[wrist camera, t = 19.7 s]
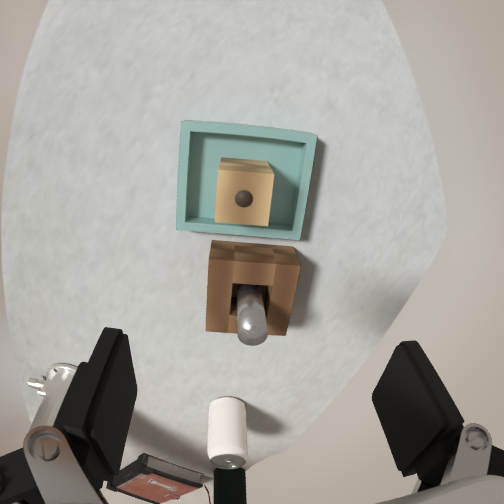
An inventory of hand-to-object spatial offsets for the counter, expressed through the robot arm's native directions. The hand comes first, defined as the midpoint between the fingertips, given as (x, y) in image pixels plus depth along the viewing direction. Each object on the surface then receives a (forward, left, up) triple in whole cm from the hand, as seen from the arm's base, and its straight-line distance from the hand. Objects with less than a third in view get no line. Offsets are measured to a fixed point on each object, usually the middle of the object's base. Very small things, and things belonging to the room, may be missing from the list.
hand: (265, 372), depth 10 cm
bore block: (+2, -13, -28) cm, 31 cm away
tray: (0, 0, -28) cm, 28 cm away
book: (-17, -79, -29) cm, 86 cm away
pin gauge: (+2, -13, -27) cm, 30 cm away
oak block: (0, 0, -28) cm, 28 cm away
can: (+1, -40, -28) cm, 49 cm away
